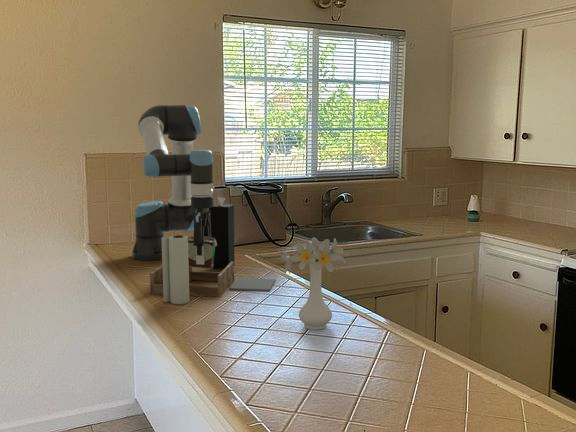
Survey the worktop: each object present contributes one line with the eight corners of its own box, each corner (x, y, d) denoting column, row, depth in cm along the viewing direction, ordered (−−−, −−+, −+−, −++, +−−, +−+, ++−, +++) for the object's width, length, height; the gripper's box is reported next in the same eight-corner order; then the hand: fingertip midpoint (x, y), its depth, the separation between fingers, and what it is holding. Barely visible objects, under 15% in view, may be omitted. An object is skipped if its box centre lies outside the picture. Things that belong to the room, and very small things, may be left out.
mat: (237, 279, 222) (237, 277, 222) (275, 280, 220) (275, 279, 220) (229, 289, 208) (229, 288, 208) (269, 291, 207) (269, 289, 207)
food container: (223, 265, 212) (223, 237, 210) (215, 269, 206) (215, 240, 205) (191, 262, 216) (191, 234, 214) (183, 266, 210) (182, 238, 208)
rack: (170, 278, 224) (169, 259, 223) (234, 280, 221) (233, 261, 220) (150, 293, 203) (150, 273, 202) (220, 296, 200) (220, 275, 199)
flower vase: (274, 325, 172) (273, 238, 168) (330, 316, 180) (331, 233, 176) (294, 339, 160) (295, 246, 157) (354, 329, 168) (355, 240, 165)
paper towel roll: (193, 300, 196) (191, 235, 192) (182, 305, 190) (180, 238, 187) (174, 298, 199) (172, 233, 195) (163, 303, 193) (161, 236, 190)
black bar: (229, 270, 237) (227, 198, 232) (209, 269, 238) (208, 198, 234) (234, 265, 244) (233, 196, 240) (216, 264, 246) (214, 195, 241)
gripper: (205, 200, 197) (206, 269, 201) (219, 192, 216) (220, 255, 220) (182, 199, 198) (184, 268, 202) (198, 191, 217) (200, 254, 221)
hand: (203, 261), depth 211 cm, fingers closed on food container, 7 cm apart
